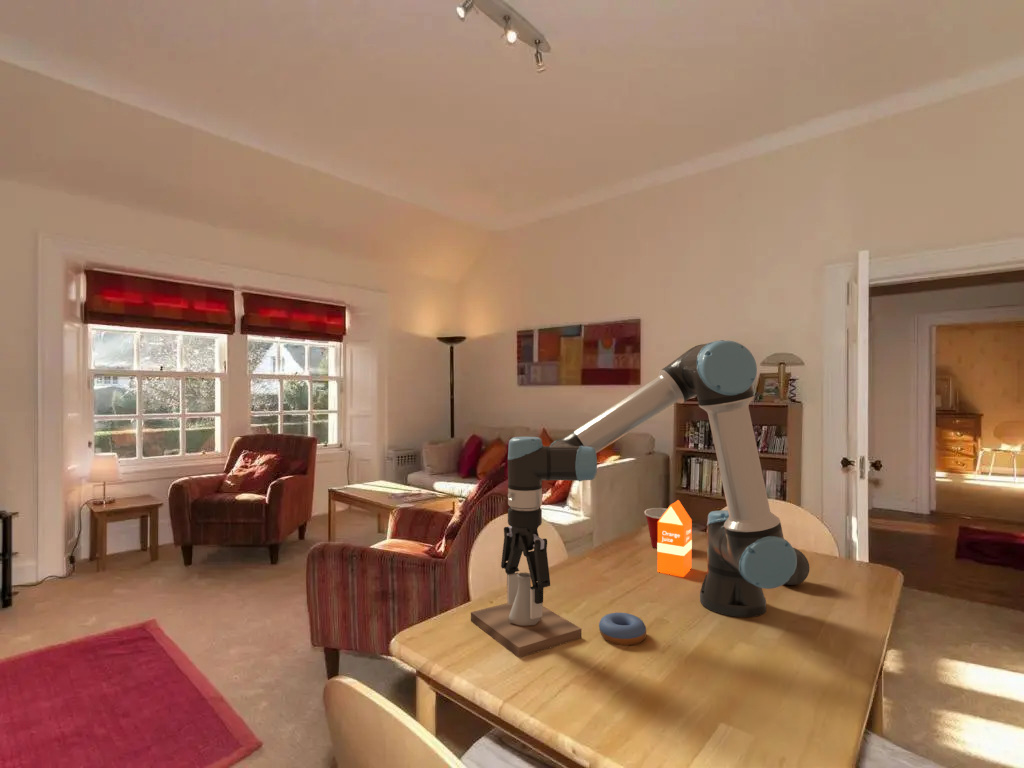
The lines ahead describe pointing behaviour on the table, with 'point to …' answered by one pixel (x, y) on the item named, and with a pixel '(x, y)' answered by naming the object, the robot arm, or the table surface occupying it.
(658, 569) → the orange juice
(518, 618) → the flask
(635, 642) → the doughnut
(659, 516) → the plastic cup
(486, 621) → the walnut board
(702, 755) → the table surface
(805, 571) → the decorative ball
